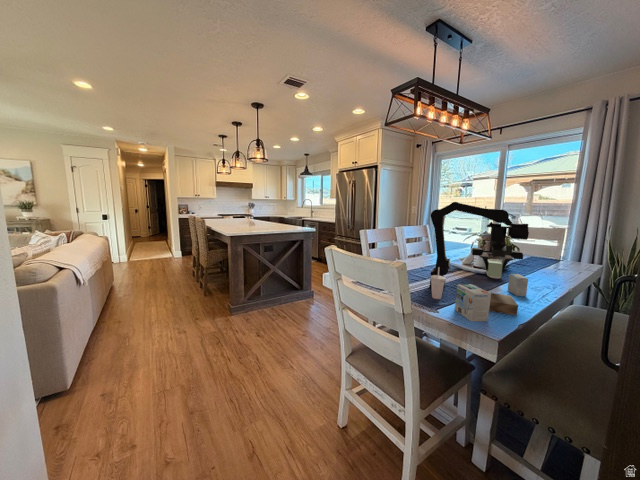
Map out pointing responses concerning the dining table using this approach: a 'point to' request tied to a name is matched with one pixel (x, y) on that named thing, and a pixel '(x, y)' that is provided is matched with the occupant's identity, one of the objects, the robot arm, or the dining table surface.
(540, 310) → the dining table surface
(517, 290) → the medicine box
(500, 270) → the sage block
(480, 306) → the light bulb box
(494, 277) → the dixie cup
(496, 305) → the walnut riser block
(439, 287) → the smoothie
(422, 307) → the dining table surface
